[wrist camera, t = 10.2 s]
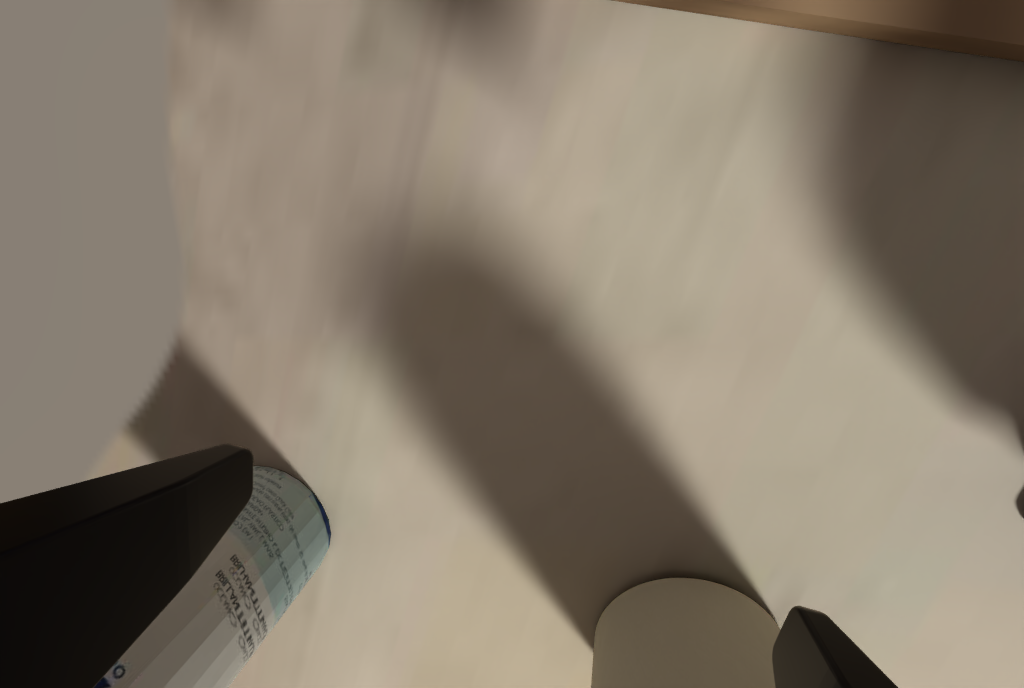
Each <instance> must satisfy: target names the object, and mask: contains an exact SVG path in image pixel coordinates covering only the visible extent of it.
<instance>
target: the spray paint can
mask: <svg viewBox="0 0 1024 688" xmlns="http://www.w3.org/2000/svg"><path fill="white" fill-rule="evenodd" d="M330 537H331V532H330V526H329V520H328V518H327V515H326V513H325V511H324V509H323V506H322V505H321V503H320V502H319V501H318V499H317V498H316V497H315V495H314V494H313V493H312V492H311V491H310V490H309V489H308V488H307V487H306V486H305V485H304V484H302V483H301V482H300V481H299V480H297V479H295V478H294V477H292V476H290V475H289V474H287V473H285V472H282V471H279V470H276V469H274V468H271V467H261V466H253V492H252V496H251V498H250V500H249V502H248V504H247V505H246V506H245V508H244V509H243V510H242V512H241V513H240V515H239V516H238V517H237V519H236V520H235V521H234V523H233V524H232V525H231V527H230V528H229V529H228V531H227V532H226V533H225V535H224V536H223V537H222V539H221V540H220V541H219V543H218V544H217V545H216V547H215V548H214V549H213V551H212V552H211V554H210V555H209V556H208V558H207V559H206V560H205V562H204V563H203V564H202V566H201V567H200V568H199V569H198V571H197V572H196V573H195V574H194V576H193V577H192V578H191V579H190V581H189V582H188V583H187V584H186V585H185V586H184V588H183V589H182V590H181V591H180V592H179V593H178V594H177V596H176V597H175V598H174V599H173V600H172V601H171V602H170V603H169V604H168V606H167V607H166V608H165V609H164V610H163V611H162V612H161V613H160V614H159V616H158V617H157V618H156V619H155V620H154V621H153V622H152V623H151V624H150V626H149V627H148V628H147V629H146V630H145V631H144V632H143V633H142V634H141V636H140V637H139V638H138V639H137V640H136V641H135V642H134V643H133V644H132V646H131V647H130V648H129V649H128V650H127V651H126V652H125V653H124V654H123V656H122V657H121V658H120V659H119V660H118V661H117V662H116V663H115V664H114V666H113V667H112V668H111V669H110V670H109V671H108V672H107V673H106V675H105V676H104V677H103V678H102V679H101V680H100V681H99V682H98V683H97V685H96V686H95V687H94V688H228V687H229V686H230V685H231V683H232V682H233V681H234V679H235V678H236V677H237V675H238V674H239V673H240V671H241V670H242V669H243V667H244V666H245V665H246V663H247V662H248V661H249V659H250V658H251V657H252V655H253V654H254V653H255V651H256V650H257V649H258V647H259V646H260V645H261V643H262V642H263V641H264V639H265V638H266V637H267V635H268V634H269V633H270V631H271V630H272V629H273V627H274V626H275V625H276V623H277V622H278V621H279V619H280V618H281V617H282V615H283V614H284V613H285V611H286V610H287V609H288V607H289V606H290V605H291V603H292V602H293V601H294V599H295V598H296V597H297V595H298V594H299V593H300V591H301V590H302V589H303V587H304V586H305V585H306V583H307V582H308V581H309V579H310V578H311V577H312V575H313V574H314V573H315V571H316V570H317V569H318V567H319V566H320V565H321V563H322V561H323V559H324V557H325V555H326V552H327V550H328V548H329V545H330Z"/></svg>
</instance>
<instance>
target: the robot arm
mask: <svg viewBox="0 0 1024 688" xmlns="http://www.w3.org/2000/svg"><path fill="white" fill-rule="evenodd" d="M252 492H253V454H252V452H251V451H250V450H249V449H248V448H244V447H241V446H237V445H234V444H223V445H219V446H216V447H212V448H208V449H204V450H201V451H197V452H193V453H189V454H185V455H182V456H178V457H174V458H170V459H167V460H163V461H159V462H155V463H151V464H148V465H144V466H140V467H136V468H133V469H129V470H125V471H121V472H117V473H114V474H110V475H106V476H102V477H99V478H95V479H91V480H87V481H83V482H80V483H76V484H72V485H69V486H64V487H61V488H57V489H53V490H50V491H46V492H42V493H38V494H34V495H30V496H27V497H23V498H19V499H15V500H12V501H8V502H4V503H0V688H94V687H95V686H96V685H97V683H98V682H99V681H100V680H101V679H102V678H103V677H104V676H105V675H106V673H107V672H108V671H109V670H110V669H111V668H112V667H113V666H114V664H115V663H116V662H117V661H118V660H119V659H120V658H121V657H122V656H123V654H124V653H125V652H126V651H127V650H128V649H129V648H130V647H131V646H132V644H133V643H134V642H135V641H136V640H137V639H138V638H139V637H140V636H141V634H142V633H143V632H144V631H145V630H146V629H147V628H148V627H149V626H150V624H151V623H152V622H153V621H154V620H155V619H156V618H157V617H158V616H159V614H160V613H161V612H162V611H163V610H164V609H165V608H166V607H167V606H168V604H169V603H170V602H171V601H172V600H173V599H174V598H175V597H176V596H177V594H178V593H179V592H180V591H181V590H182V589H183V588H184V586H185V585H186V584H187V583H188V582H189V581H190V579H191V578H192V577H193V576H194V574H195V573H196V572H197V571H198V569H199V568H200V567H201V566H202V564H203V563H204V562H205V560H206V559H207V558H208V556H209V555H210V554H211V552H212V551H213V549H214V548H215V547H216V545H217V544H218V543H219V541H220V540H221V539H222V537H223V536H224V535H225V533H226V532H227V531H228V529H229V528H230V527H231V525H232V524H233V523H234V521H235V520H236V519H237V517H238V516H239V515H240V513H241V512H242V510H243V509H244V508H245V506H246V505H247V504H248V502H249V500H250V498H251V496H252ZM772 664H773V673H774V682H775V688H898V687H897V686H896V685H895V684H894V683H893V682H892V681H891V680H890V679H889V678H888V677H887V676H886V675H885V674H884V673H883V672H882V671H881V670H880V669H879V668H878V667H877V666H876V665H875V664H874V663H873V662H872V661H871V660H870V659H869V658H868V657H867V655H866V654H865V653H864V652H863V651H862V650H861V649H860V648H859V647H858V646H857V645H856V644H855V643H854V642H853V641H852V640H851V639H850V638H849V637H848V636H847V635H846V634H845V633H844V632H843V631H842V630H841V629H840V628H839V627H838V626H837V625H836V624H835V623H834V622H833V621H832V620H831V619H830V618H829V617H828V616H827V615H826V614H824V613H822V612H819V611H816V610H812V609H809V608H805V607H802V606H795V607H793V608H792V609H791V610H790V612H789V613H788V616H787V618H786V620H785V622H784V624H783V626H782V628H781V630H780V632H779V634H778V636H777V638H776V641H775V643H774V646H773V651H772Z"/></svg>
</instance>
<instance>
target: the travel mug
mask: <svg viewBox="0 0 1024 688" xmlns="http://www.w3.org/2000/svg"><path fill="white" fill-rule="evenodd" d="M779 632H780V629H779V627H778V625H777V624H776V622H775V621H774V620H773V618H772V617H771V616H770V615H769V614H768V613H767V612H766V611H765V610H764V609H763V608H762V607H761V606H760V605H758V604H757V603H756V602H754V601H753V600H752V599H750V598H749V597H747V596H745V595H744V594H742V593H740V592H738V591H736V590H734V589H732V588H729V587H727V586H724V585H721V584H718V583H714V582H710V581H706V580H700V579H693V578H666V579H659V580H654V581H650V582H646V583H643V584H640V585H637V586H635V587H633V588H631V589H629V590H627V591H625V592H624V593H622V594H621V595H619V596H618V597H616V598H615V599H614V600H613V601H612V602H611V603H610V604H609V605H608V606H607V607H606V609H605V610H604V612H603V613H602V615H601V617H600V619H599V621H598V623H597V626H596V631H595V639H594V653H593V668H592V683H591V688H775V682H774V673H773V664H772V651H773V646H774V643H775V641H776V638H777V636H778V634H779Z"/></svg>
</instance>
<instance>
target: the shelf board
mask: <svg viewBox="0 0 1024 688" xmlns="http://www.w3.org/2000/svg"><path fill="white" fill-rule="evenodd" d="M613 1H619V2H626V3H633V4H639V5H646V6H653V7H659V8H666V9H673V10H680V11H686V12H693V13H700V14H706V15H713V16H720V17H726V18H733V19H740V20H746V21H753V22H760V23H767V24H773V25H780V26H787V27H793V28H800V29H807V30H813V31H820V32H827V33H834V34H840V35H847V36H854V37H860V38H867V39H874V40H880V41H887V42H894V43H901V44H907V45H914V46H921V47H927V48H934V49H941V50H947V51H954V52H961V53H967V54H974V55H981V56H988V57H994V58H1001V59H1008V60H1014V61H1021V62H1024V0H613Z"/></svg>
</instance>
